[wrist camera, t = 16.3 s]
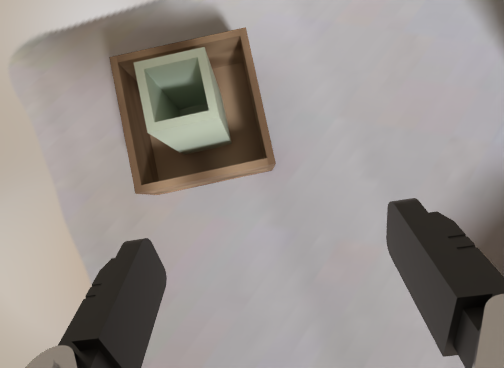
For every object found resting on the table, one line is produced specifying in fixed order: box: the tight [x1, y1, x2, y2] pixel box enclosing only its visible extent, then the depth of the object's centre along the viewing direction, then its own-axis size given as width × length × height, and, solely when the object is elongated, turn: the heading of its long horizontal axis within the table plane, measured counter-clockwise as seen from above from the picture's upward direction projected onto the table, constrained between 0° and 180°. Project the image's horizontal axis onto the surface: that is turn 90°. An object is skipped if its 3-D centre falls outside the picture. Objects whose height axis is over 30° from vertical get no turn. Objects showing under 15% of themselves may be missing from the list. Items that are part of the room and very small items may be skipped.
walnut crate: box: [109, 27, 276, 195], centre depth 29 cm, size 12×12×6 cm
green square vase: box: [134, 47, 232, 155], centre depth 26 cm, size 5×5×10 cm
